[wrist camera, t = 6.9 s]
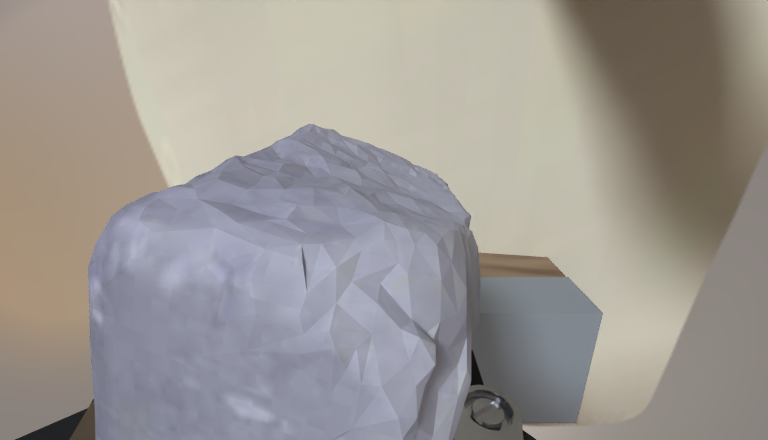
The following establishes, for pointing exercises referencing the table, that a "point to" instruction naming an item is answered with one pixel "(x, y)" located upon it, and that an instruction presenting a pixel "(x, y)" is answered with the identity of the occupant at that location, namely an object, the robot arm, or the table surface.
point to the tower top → (536, 344)
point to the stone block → (287, 301)
